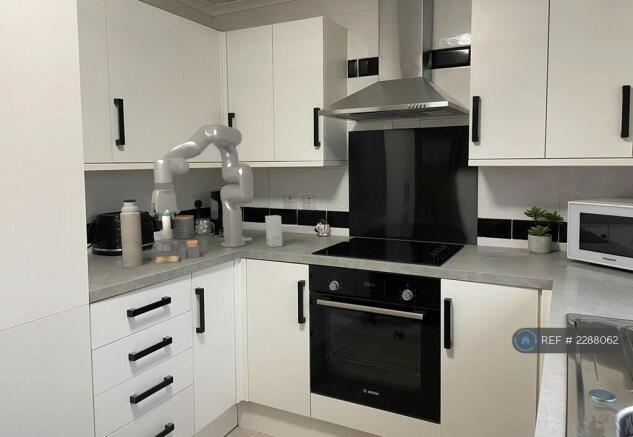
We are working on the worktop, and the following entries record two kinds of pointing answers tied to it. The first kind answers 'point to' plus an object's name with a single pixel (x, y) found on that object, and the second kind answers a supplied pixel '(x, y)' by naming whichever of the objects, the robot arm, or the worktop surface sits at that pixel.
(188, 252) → the housing
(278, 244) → the skincare box
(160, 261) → the tray
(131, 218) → the thermos bottle
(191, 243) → the release button
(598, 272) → the worktop surface
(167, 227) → the cylinder
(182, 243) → the worktop surface
